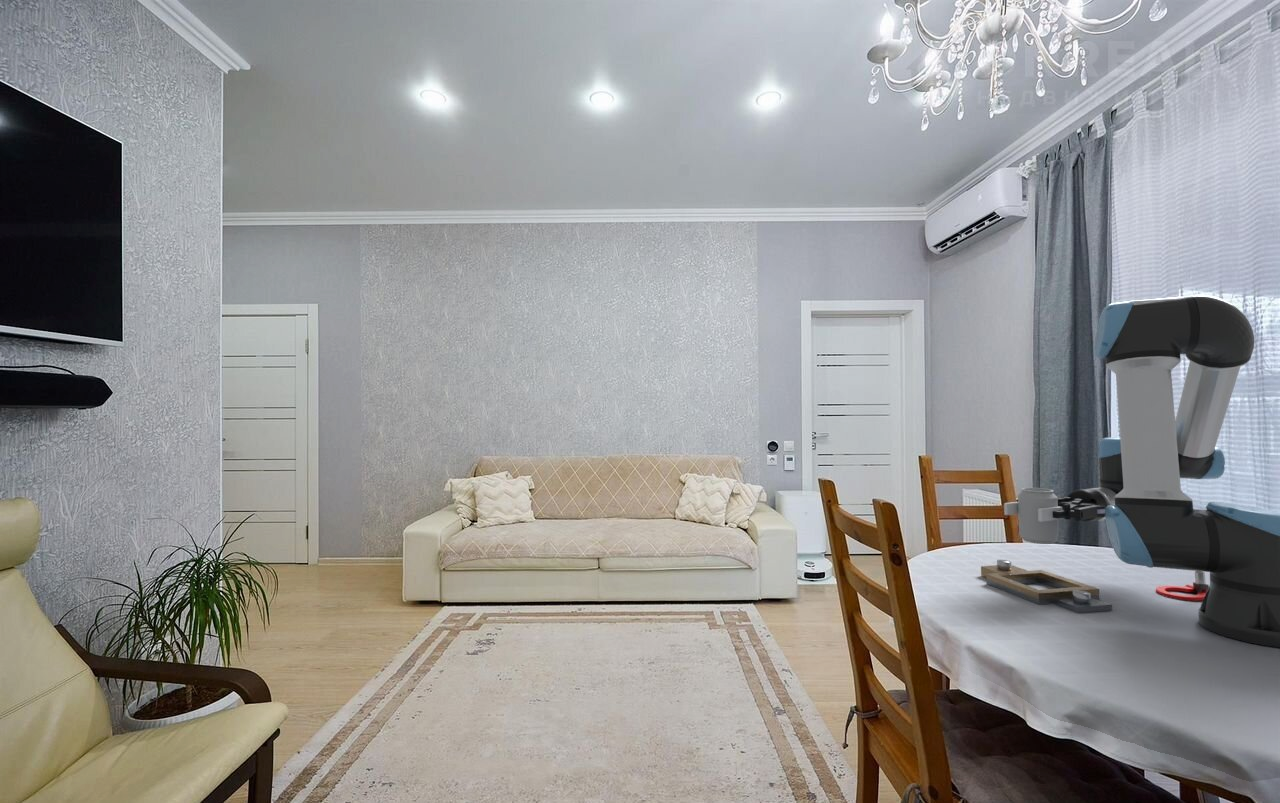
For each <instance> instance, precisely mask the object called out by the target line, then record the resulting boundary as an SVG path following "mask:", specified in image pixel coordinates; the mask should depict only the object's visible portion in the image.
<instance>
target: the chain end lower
mask: <svg viewBox="0 0 1280 803" xmlns="http://www.w3.org/2000/svg"><path fill="white" fill-rule="evenodd" d="M1013 581H1016V582H1019V583H1021V584H1024V585H1029V584H1043V585H1047V586H1049V587H1052V588H1054V589H1058V588H1070V587H1067V586H1064V585H1061V584H1058V583H1055V582H1052V581H1049V580H1046V579H1043V578H1031V579H1018V580H1013ZM985 582H986V585H989V586H991V587H993V588H996V589H997V590H998V589H999V590H1001V591H1004V592H1005V593H1009V594H1011V595H1013V596H1016V597H1018V598H1021V599H1023V600H1026V601H1028V602H1031V603H1034V604H1035V605H1036V604H1037V605H1038V606H1040V605H1041V606H1042V605H1052V604H1053V605H1056V606H1059V607H1061V608H1064V609H1066V610H1070V611H1072V612H1074V613H1077V614H1084V613H1098V612H1109V611H1113V604H1111V603H1110V602H1109V603H1108V602H1105V601H1102V600H1100V593H1099V594H1097V595H1091V594H1090V593H1089V592H1085V591H1079V590H1075V591H1073V596H1071V597H1058V598H1046V599H1037V598H1035V597H1032V596H1030V595H1027V594H1024V593H1022V592H1019V591H1017V590H1014V589H1011V588H1009V587H1006V586H1004V585H1001V584H998V583H996V582H993V581H991V580H988V579H986V581H985Z"/></svg>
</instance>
